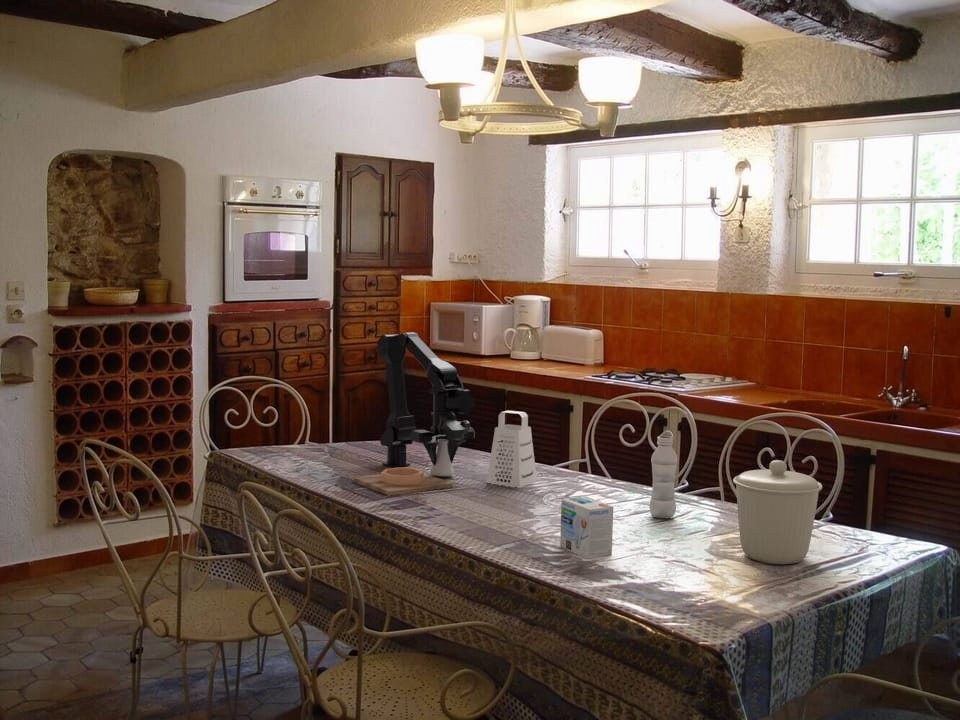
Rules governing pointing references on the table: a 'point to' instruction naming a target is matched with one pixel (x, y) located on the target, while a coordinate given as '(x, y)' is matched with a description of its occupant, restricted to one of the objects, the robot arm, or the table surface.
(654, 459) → the plastic bottle
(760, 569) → the table surface
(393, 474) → the ring
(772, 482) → the canister
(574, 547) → the light bulb box
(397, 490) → the board
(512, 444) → the grater
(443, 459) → the flask
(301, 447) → the table surface
